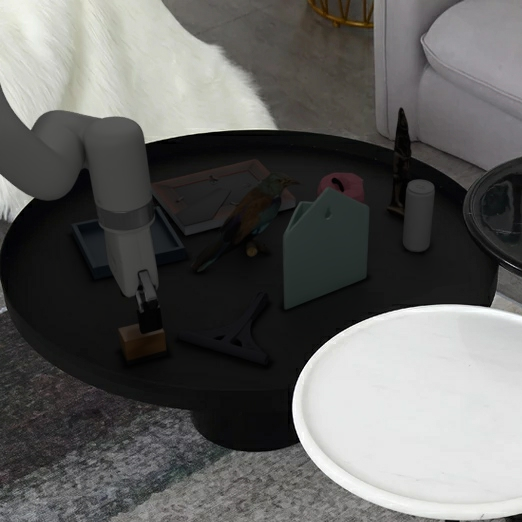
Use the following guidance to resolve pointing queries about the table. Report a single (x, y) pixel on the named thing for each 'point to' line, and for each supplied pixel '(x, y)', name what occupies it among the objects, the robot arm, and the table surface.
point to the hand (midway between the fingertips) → (141, 311)
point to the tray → (96, 254)
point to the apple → (344, 185)
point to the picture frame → (211, 195)
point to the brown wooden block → (141, 344)
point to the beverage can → (418, 215)
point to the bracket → (233, 334)
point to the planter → (324, 247)
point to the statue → (401, 166)
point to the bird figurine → (247, 221)
